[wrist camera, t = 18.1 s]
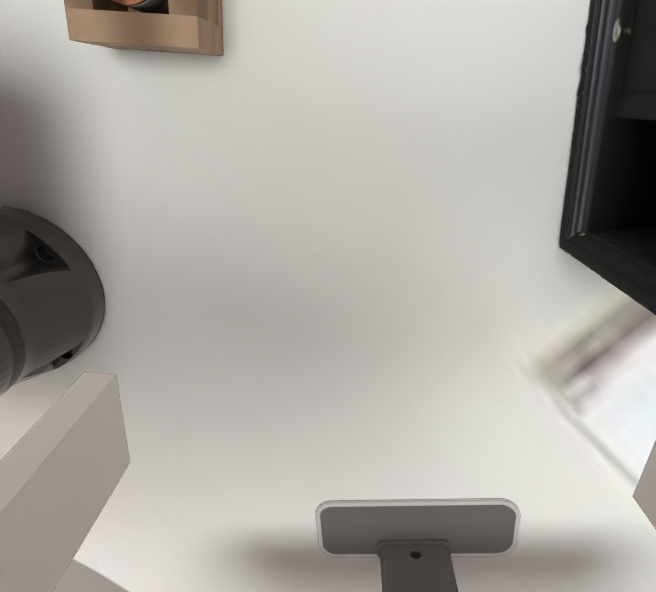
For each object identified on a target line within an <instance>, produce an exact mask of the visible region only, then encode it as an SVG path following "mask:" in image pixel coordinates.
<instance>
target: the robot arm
mask: <svg viewBox="0 0 656 592" xmlns="http://www.w3.org/2000/svg"><path fill="white" fill-rule="evenodd" d="M103 315H104V296H103V291H102V287H101V283H100V280H99V278H98V275H97V273H96V271H95V269H94V267H93V265H92V263H91V262H90V260H89V259H88V257H87V256H86V254H85V253H84V252H83V251H82V249H81V248H80V247H79V246H78V245H77V244H76V243H75V242H74V241H73V240H72V239H71V238H70V237H69V236H68V235H67V234H66V233H64V232H63V231H62V230H60V229H59V228H58V227H56V226H55V225H53V224H52V223H50V222H48V221H46V220H45V219H43V218H41V217H38V216H36V215H34V214H31V213H28V212H25V211H22V210H18V209H13V208H7V207H0V396H1V395H2V394H3V393H4V392H5V391H6V390H8V389H9V388H10V387H11V386H12V385H14V384H17V383H19V382H22V381H25V380H27V379H30V378H33V377H35V376H38V375H41V374H43V373H46V372H49V371H51V370H54V369H56V368H59V367H61V366H63V365H65V364H66V363H68V362H69V361H71V360H72V359H74V358H75V357H76V356H77V355H78V354H79V353H80V352H82V351H83V350H84V349H85V348H86V347H87V346H88V345H89V344H90V343H91V342H92V340H93V339H94V338H95V336H96V335H97V333H98V331H99V329H100V326H101V324H102V320H103ZM129 464H130V458H129V451H128V445H127V439H126V433H125V427H124V420H123V414H122V408H121V402H120V395H119V389H118V383H117V377H116V374H110V373H94V372H84V373H83V374H82V375H81V376H80V377H79V378H78V379H77V380H76V381H75V383H74V384H73V385H72V386H71V387H70V388H69V389H68V390H67V391H66V392H65V393H64V394H63V395H62V396H61V397H60V398H59V399H58V400H57V401H56V402H55V404H54V405H53V406H52V407H51V408H50V409H49V410H48V411H47V412H46V413H45V414H44V415H43V416H42V417H41V418H40V419H39V420H38V421H37V422H36V424H35V425H34V426H33V427H32V428H31V429H30V430H29V431H28V432H27V433H26V434H25V435H24V436H23V437H22V438H21V439H20V440H19V441H18V442H17V443H16V445H15V446H14V447H13V448H12V449H11V450H10V451H9V452H8V453H7V454H6V455H5V456H4V457H3V458H2V459H1V460H0V592H53V591H54V590H55V588H56V586H57V584H58V583H59V581H60V580H61V578H62V576H63V575H64V573H65V571H66V569H67V568H68V566H69V564H70V563H71V561H72V559H73V558H74V556H75V554H76V553H77V551H78V549H79V548H80V546H81V544H82V543H83V541H84V539H85V538H86V536H87V534H88V533H89V531H90V529H91V527H92V526H93V524H94V522H95V521H96V519H97V517H98V516H99V514H100V512H101V511H102V509H103V507H104V506H105V504H106V502H107V501H108V499H109V497H110V496H111V494H112V492H113V490H114V489H115V487H116V485H117V484H118V482H119V480H120V479H121V477H122V475H123V474H124V472H125V470H126V469H127V467H128V465H129ZM633 498H634V499H635V501H636V502H637V503H638V505H639V506H640V508H641V509H642V511H643V512H644V513H645V515H646V516H647V518H648V519H649V521H650V522H651V523H652V525H653V526H654V528H655V529H656V441H655V443H654V446H653V448H652V450H651V453H650V455H649V458H648V460H647V462H646V465H645V467H644V470H643V472H642V475H641V477H640V479H639V482H638V484H637V487H636V489H635V491H634V494H633Z"/></svg>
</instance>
